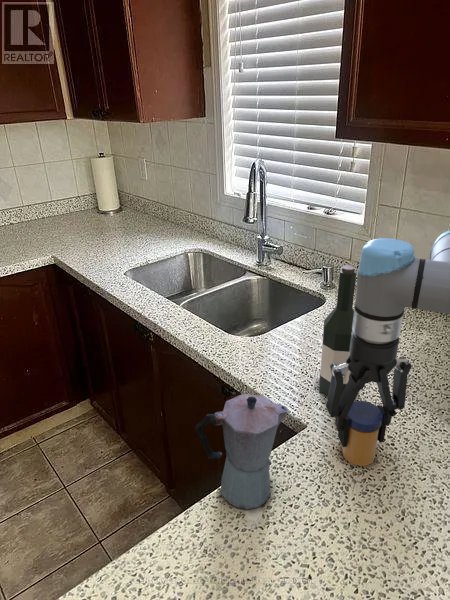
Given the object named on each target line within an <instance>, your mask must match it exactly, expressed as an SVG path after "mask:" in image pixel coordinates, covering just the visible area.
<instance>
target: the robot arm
mask: <svg viewBox="0 0 450 600" xmlns="http://www.w3.org/2000/svg"><path fill="white" fill-rule="evenodd" d="M362 246H363V247H362V248H361V253H360V254H361V255H360V260H359V265H358V269H357V277H356V287H355V301H354V307H353V310H354V315H353V323H352V330H353V331H352V333H351V341H350V355H349V357H348V359H347V360H346V363H344V364H341V365H338V366H337V364H336V363H333V364H331V365H330V369H331V373H332V377H331V382H330V387H329V393H328V396H327V398H326V403H325V408H326V410H327V412H328V415H329V416H330V417H331V418H334V426H335V428H336V430H337V438H338V440H339V442H340V445H341V446H342V448H343V447H347V441H348V434H349V426H350V418H349V416H348V413H349V411H350V409H351V407H352V405H353V403H354V402H355V401H356V398H357V397H358V395H359V393H360V392H361V390H363V389H364V387H365V385H366V384H369V383H376V385H377V389H378V393H379V397H380V401H381V404H378V405H376V406H377V407H378V408H379V409H380V410H381V412H382V414H383V418H382V420H383V421H382V425H381V427H380V429H379V435H378V441H377V442H378V443H384V441H385V436H386V429H387V426H390V425H391V423H392V419H393V417H396V415H397V412H396V410H400V411H401V410H403V409H404V408H405V405H406V396H407V395H406V394H407V384H408V376H409V374H410V372H411V369H412V366H413V365H412V364H411V363H410V361H408V359H407V358H406V357H405V356H403V355H402V356H399V357H397V356H398V352H399V351H398V350H399V345H400V336H401V330H402V327H403V326H402V325H403V319H404V313H405V308H408V309H410V308H411V309H415V310H421V311H427V312H433V313H438V314H444V315H448V316H449V315H450V230H447V231H445V232H443V233H441V234H440V235H439V236H438V237H437V238H436V239H435V241H434V243H433V245H432V247H431V250H430V254H429V259H426V258H419V257H416V255H415V248H414V246H413V244H411V243H409V242H408V241H405V240H399V239H397V238H390V237H389V238H388V237H385V238H384V237H383V238H374V239H372V240H369V241H367V242H366V243H365V244H364V245H362ZM392 370H393V378H392V393H391V389H390V381H389V377H388V375H389V374H390V373H391V371H392ZM347 371H350V372H351V373H350V375H349V381H348V383H347V385H346V387H345V389H344V391H343V393H342V388H343V379H345V378H346V372H347ZM341 393H342V395H341Z"/></svg>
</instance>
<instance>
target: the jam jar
mask: <svg viewBox="0 0 450 600" xmlns="http://www.w3.org/2000/svg"><path fill="white" fill-rule="evenodd" d="M379 429H380V428H379ZM379 429H378V430H376V431H373V432H362V431H358V430H356V429H354V428H352V427H351V426H349V434H348V441H347V447H343V446H342V449H341V450H342V451H341V454H342V456H343V458H344V459H345V460H346V461H347V462H348V463H349V464H352V465H354V466H358V467H366V466H370V465H371V464H373V463H374V461H375V459H376V454H377V453H376V452H377V446H378V442H379V441H378V435H379Z"/></svg>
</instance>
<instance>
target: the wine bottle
mask: <svg viewBox="0 0 450 600" xmlns="http://www.w3.org/2000/svg"><path fill="white" fill-rule="evenodd" d="M356 282H357V269H355V266H353V265H351V264H345V265H342V266H341V268H340V269H339V277H338V286H337V295H336V297H337V298H336V305H335V307H333V309H332V311H331V312H330V313H329V314H328V315H327V316H326V317H325V319H324V320H323V331H322V340H321V341H322V342H321V354H320V367H319V378H318V379H319V381H318V390H319V392H320V393H322V394H323V395H325V396H326V397H328V393H329V387H330V382H331V377H332V373H331V369H330V365H331V364H333V363H336V364H337V366H338V365H341V364H344V363H346V360H347V359H348V357H349V355H350V341H351V333H352V331H353V330H352V323H353V315H354V307H353V306H354V297H355V291H356ZM350 373H351V372H350V371H347V372H346V378H345V379H343V388H342V393H343V391H344V389H345V387H346V385H347V383H348V381H349V375H350ZM342 393H341V395H342Z"/></svg>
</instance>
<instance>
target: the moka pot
mask: <svg viewBox="0 0 450 600" xmlns="http://www.w3.org/2000/svg"><path fill="white" fill-rule="evenodd" d="M290 412H291V411H290V410H289V408H288V407H287V406H286V405H283V404H280V403H274V402H272V400H270V398H268V397H267V396H265V395H261V394H260V395H259V394H251V393H241V394H239V395H237V396H235V397H233V398H231V399H230V398H229V399H228V400H226V401H225V403H224V407H223V410H222V411H221V410H220V411H216V412H214V413H207V414H206V415H205V416H204V417H203V418H202V420H200V421H199V422H198V423H197V424H196V425H195V427H194V430H195V435H196V436H197V438H198V439H199V442H200V443H201V446H202V447H203V449H204V452H205V454H206V455H207V458H208V459H210V460H215V459H221V458H222V456H223V452H221V451H216V452H214V451H213V449H212V447H211V444H210V441H209V439H208V436H207V434H206V431H205V429H204V428H205V427H206V426H208V425H213V426H222V434H223V441H224V449H225V456H226V457H225V462H224V466H223V472H222V474H221V475H222V476H221V480H220V481H221V482H220V494H221V495H222V497H223V498H224V500H226V501H227V502H228V503H229V505H231V506H232V507H233V506H234V507H236V508H239V509H244V510H250V509H255V508H259V507H261V506H262V505H264V504H265V503H266V501H267V500H268V499H269V497H270V496H271V477H270V466H271V465H272V460H271V459H270V457H271V454H272V451H273V446H274V443H275V439H276V436H277V430H278V427H279V426H280V424H281V423H282V421H283V419H284V418H285V416H286V415H287V414H288V413H290Z"/></svg>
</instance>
